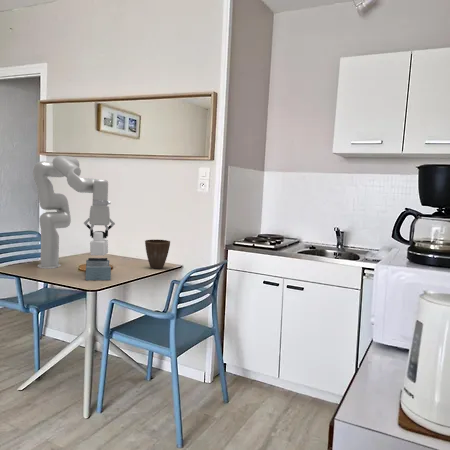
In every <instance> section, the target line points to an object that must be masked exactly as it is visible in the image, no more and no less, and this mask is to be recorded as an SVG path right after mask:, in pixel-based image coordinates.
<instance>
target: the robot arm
mask: <svg viewBox="0 0 450 450" xmlns="http://www.w3.org/2000/svg"><path fill="white" fill-rule="evenodd" d="M81 173H82V170H81V168H80V161H79V160H78V159H77V158H76V157H74V156H68V155H57V156H55V157H54V158H53V160H52V161H49V160H45V161H44V160H42V161H41V160H40V161H38V162H36V163H35V164H34V165H33V167H32V176H33V180H34V183H35V186H36V190H37V197H38V203H39V207H40V208H41V209H43V210H45V211H46V210H47V211H46V212H43V213H42V214H41V215H40V216H39V218H38V219H39V221H38V222H39V227H40V263H39V264H37V267H38V268H40V269H58V268H59V267H61V266H62V264H60V263H59V262H60V261H59V259H60V256H59V255H60V254H59V253H60V235H59V233H58V231H57V229H67V228H69V226H70V224H71V222H72V221H71V220H72V219H71V210H70V205H69V200H68V198H67V196H66V195H64V194H63V193H55V192H54V191H55V190H54V185H53V183H52V181H51V180H50V179H49V177H50V178H64V177H65V178H66V181H67V184H68V186H69V187H70V188H72V189H73V190H74V191H76V192H78V193H82V194H86V193H87V194H88V193H89V194H92V204H91V205H90V209H89V215H88V218H87V219H86V220H85V221H84V222H83V225H85V226H86V228H88V230H90V231H89V233H90V234H89V237H91V239H93V232H94V230H93V229H94V227H95V226H104V228H105V231H104V232H105V239H107V238H108V237H109V231H110V230H111V229H112V228H113V227H114V225H116V223H115V221H113V220H112V219H111V218H110V216H111V215H110V206H109V205H111V201H109V200H108V199H109V182H108V180H106V179H96V178H89V177H88V178H87V177H80V176H81Z"/></svg>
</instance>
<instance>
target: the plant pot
mask: <svg viewBox="0 0 450 450" xmlns="http://www.w3.org/2000/svg"><path fill="white" fill-rule="evenodd" d="M144 244H145V246H144V247H145V252H146V257H147V261H148V264H149V267H150V268H151V269H155V270H156V269H157V270H158V269H160V270H161V269H163V268H164V267H165V264H166V261H167V257H168V255H169V251H170V246H171V240H167V239H165V240H164V239H146V240H144Z"/></svg>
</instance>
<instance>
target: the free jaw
mask: <svg viewBox="0 0 450 450" xmlns="http://www.w3.org/2000/svg"><path fill="white" fill-rule="evenodd" d="M85 264H86V265H85V267H86V266H110V260H109V259H108V258H107V257H88V259H86V261H85Z"/></svg>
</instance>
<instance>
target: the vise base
mask: <svg viewBox="0 0 450 450" xmlns="http://www.w3.org/2000/svg"><path fill="white" fill-rule="evenodd" d="M111 273H112V267H111V265H109V266H86V265H85V281H111V279H112V278H111V277H112V275H111Z"/></svg>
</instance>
